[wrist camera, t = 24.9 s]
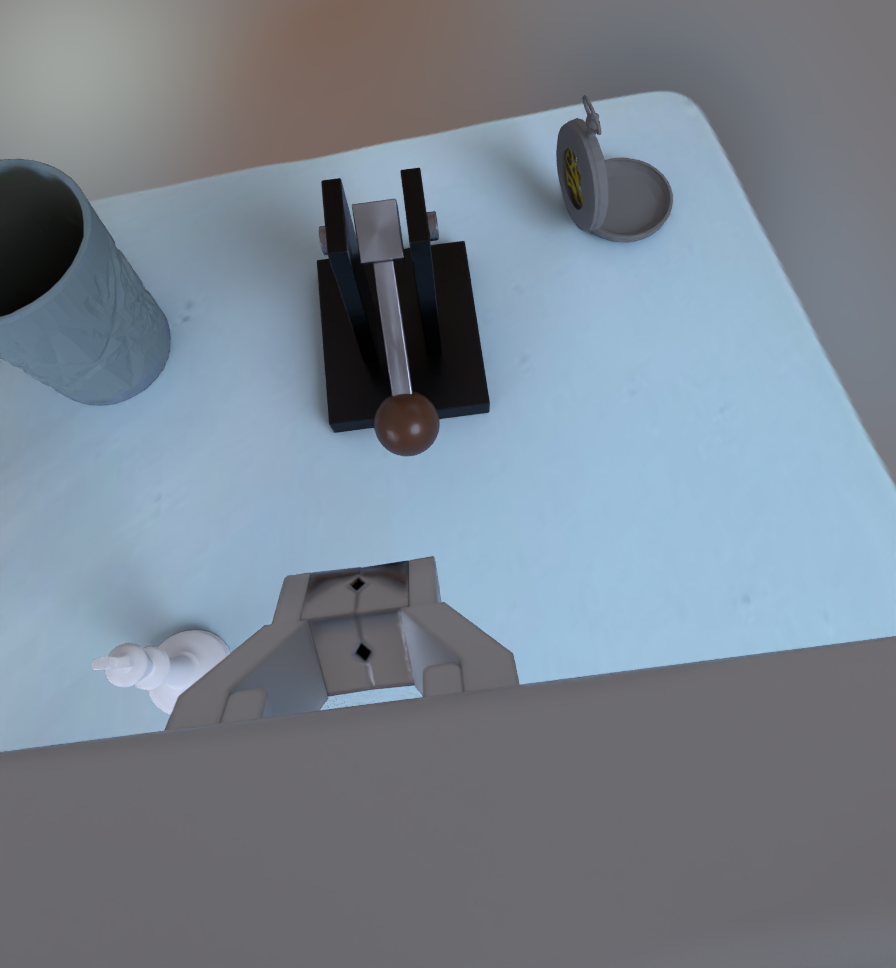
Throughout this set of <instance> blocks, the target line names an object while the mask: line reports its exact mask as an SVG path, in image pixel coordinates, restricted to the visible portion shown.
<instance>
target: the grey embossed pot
mask: <svg viewBox="0 0 896 968" xmlns="http://www.w3.org/2000/svg"><path fill="white" fill-rule="evenodd" d="M169 352H170V330H169V325H168V322H167V319H166V317H165V315H164V313H163V312H162V310H161V309H160V307H159V306H158V304H157V303H156V302H155V300H154V299H153V297H152V296H151V294H150V293H149V292H148V291H146V290H145V288H144V287H143V284H142V282H141V280H140V279H139V277H138V276H137V274H136V273H135V271H134V270H133V268H132V266H131V265H130V263H129V262H128V261H127V259H126V258H125V256H124V255H123V253H122V252H121V251H120V250H118V249H117V248H116V246H115V241H114V239H113V238H112V236H111V235H110V233H109V232H108V230H107V229H106V227H105V226H104V224H103V223H102V222H101V220H100V219H99V217H98V215H97V214H96V212H95V211H94V209H93V207H92V206H91V204H90V203H89V201H88V200H87V198H86V197H85V195H84V194H83V192H82V190H81V189H80V187H79V186H78V185H77V184H76V183H75V182H74V181H73V180H72V178H70V177H69V176H68V175H66V174H65V173H64V172H62V171H60V170H58V169H57V168H55V167H52V166H50V165H48V164H44V163H41V162H37V161H33V160H24V159H7V160H6V159H5V160H0V358H1V359H3V360H5V361H8V362H10V363H11V364H12V365H13V366H16V367H20V368H22V369H23V370H24V372H25V373H27V374H30V375H31V376H32V377H34V378H35V379H37V380H39V381H40V382H42V383H44V384H46V385H48V386H51V387H52V388H53V389H55V390H56V391H57V392H59V393H61V394H63V395H64V396H66V397H68V398H70V399H72V400H74V401H78V402H81V403H85V404H89V405H109V404H115V403H118V402H122V401H125V400H127V399H129V398H131V397H133V396H135V395H137V394H138V393H140V392H142V391H143V390H145V389H146V388H147V387H148V386H149V385H150V384H151V383H152V382H153V381H154V380H155V379H156V378H157V377H158V375H159V373H160V371H162V370H163V369H164V367H165V361H166V360H167V359H168V354H169Z"/></svg>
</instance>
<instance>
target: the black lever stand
mask: <svg viewBox="0 0 896 968" xmlns="http://www.w3.org/2000/svg"><path fill="white" fill-rule="evenodd" d="M401 179H402V187H403V195H404V203H405V211H406V219H407V227H408V235H409V243H410V248H407V249H404V255H405V260H400V261H394V262H395V268H396V276H397V283H398V290H399V297H400V304H401V311H402V318H403V325H404V333H405V340H406V347H407V354H408V361H409V368H410V375H411V382H412V390H413V392H417V393H420V394H422V395H424V396H425V397H427V398H428V399H429V400H430V401H431V402H432V403H433V405H434V406H435V408H436V410H437V412H438V415H439V419H443V418H451V417H459V416H466V415H474V414H481V413H488V412H489V407H490V402H489V395H488V389H487V382H486V376H485V369H484V363H483V356H482V350H481V343H480V337H479V330H478V324H477V318H476V311H475V305H474V298H473V292H472V285H471V279H470V272H469V266H468V259H467V253H466V246H465V242H464V241H460V242H452V243H444V244H437V245H431V244H430V241H435V240H439V233H438V225H437V217H436V212H435V211H433V212H427V213H426V207H425V199H424V192H423V185H422V177H421V170H420V168H413V169H405V170H401ZM321 183H322V195H323V208H324V220H325V226H320V227H319V237H320V243H321V248H322V251H323V254H324V255H328V257H329V259H323V260H317V270H318V283H319V296H320V309H321V322H322V336H323V349H324V362H325V375H326V388H327V401H328V414H329V424H330V426H331V428H332V430H333V432H334V433H336V432H344V431H352V430H359V429H367V428H374V419H375V414H376V411H377V409H378V407H379V406H380V404H381V403H382V402H383V401H384V400H385V399H386V398H387V397H388V396H390V395H392V391H391V384H390V377H389V371H388V364H387V357H386V350H385V344H384V337H383V330H382V323H381V317H380V310H379V303H378V296H377V290H376V283H375V276H374V269H373V264H370V265H364V264H362V263H361V262H360V256H359V249H358V243H357V238H356V234H355V231H354V227H353V223H352V219H351V215H350V211H349V208H348V204H347V200H346V196H345V192H344V189H343V185H342V181H341V179H340V178H338V179H330V180H323V181H322V182H321Z"/></svg>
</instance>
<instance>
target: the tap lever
mask: <svg viewBox="0 0 896 968" xmlns="http://www.w3.org/2000/svg"><path fill="white" fill-rule="evenodd" d="M352 210H353V217H354V223H355V230H356V236H357V243H358V249H359V256H360V262H361V263H362V264H364V265H370V264H373V269H374V276H375V283H376V290H377V296H378V303H379V310H380V317H381V323H382V330H383V337H384V344H385V350H386V357H387V364H388V371H389V377H390V384H391V391H392V395H390V396H388V397H387V398H386V399H385V400H384V401H383V402H382V403H381V404H380V406H379V407H378V409H377V411H376V414H375V419H374V428H375V433H376V435H377V438H378V440H379V441H380V443H381V444H382V445H383V446H384V447H385V448H386V449H387V450H389V451H390V452H392V453H394V454H397V455H400V456H414V455H417V454H420V453H422V452H424V451H425V450H427V449H428V448H429V447H430V446H431V445H432V444H433V443H434V441H435V439H436V437H437V435H438V432H439V425H440V423H439V415H438V412H437V410H436V408H435V406H434V405H433V403H432V402H431V401H430V400H429V399H428V398H427V397H425V396H424V395H422V394H420V393H417V392H413V390H412V382H411V375H410V368H409V361H408V354H407V347H406V340H405V333H404V325H403V318H402V311H401V304H400V297H399V290H398V283H397V276H396V268H395V262H394V261H400V260H405V255H404V248H403V240H402V233H401V226H400V218H399V211H398V205H397V202H396V199H389V200H382V201H374V202H367V203H359V204H353V205H352Z"/></svg>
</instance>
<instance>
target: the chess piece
mask: <svg viewBox="0 0 896 968" xmlns="http://www.w3.org/2000/svg"><path fill="white" fill-rule="evenodd" d="M230 653H231V652H230V650H229V648H228V647H227V645H226V644H225V643H224V641H223V640H222V639H220V638H219V637H218V636H216V635H215V634H213V633H210V632H207V631H203V630H189V631H183V632H179V633H177V634H174V635H172V636H171V637H169V638H168V639H166V640H165V641H164V642H163V643H161V644H160V645H159V647H156V646H147V647H144V648H142V647H141V646H139V645H137V644H134V643H125V644H122V645H119V646H117V647H116V648H115V649H113V650H112V651H111V653H110V654H109V656H108V657H99V659H94V660H93V664H92V670H104V669H105V673H106V676H107V678H108V680H109V681H110V682H111V683H112V684H114V685H116V686H119V687H129V686H132V685H134V686H135V687H137V688H139V689H142V690H148V693H149V695H150V697H151V699H152V701H153V702H154V704H155V705H156V706H157V707H158V708H159V709H160V710H162V711H163V712H165V713H167V714H169V715H171V713H172V711H173V708H174V706H175V703H176V701H177V698H178V696H179V695H180V694H182V693H183V692H184V691H185V690H187V689H188V688H189V687H190V686H191V685H193V684H194V683H195V682H196V681H197V680H199V679H200V678H201V677H202V676H204V675H205V674H206V673H207V672H208V671H210V670H211V669H212V668H213V667H215V666H216V665H217V664H218V663H219V662H221V661H222V660H223V659H224V658H226V657H227V656H228V655H229V654H230Z"/></svg>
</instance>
